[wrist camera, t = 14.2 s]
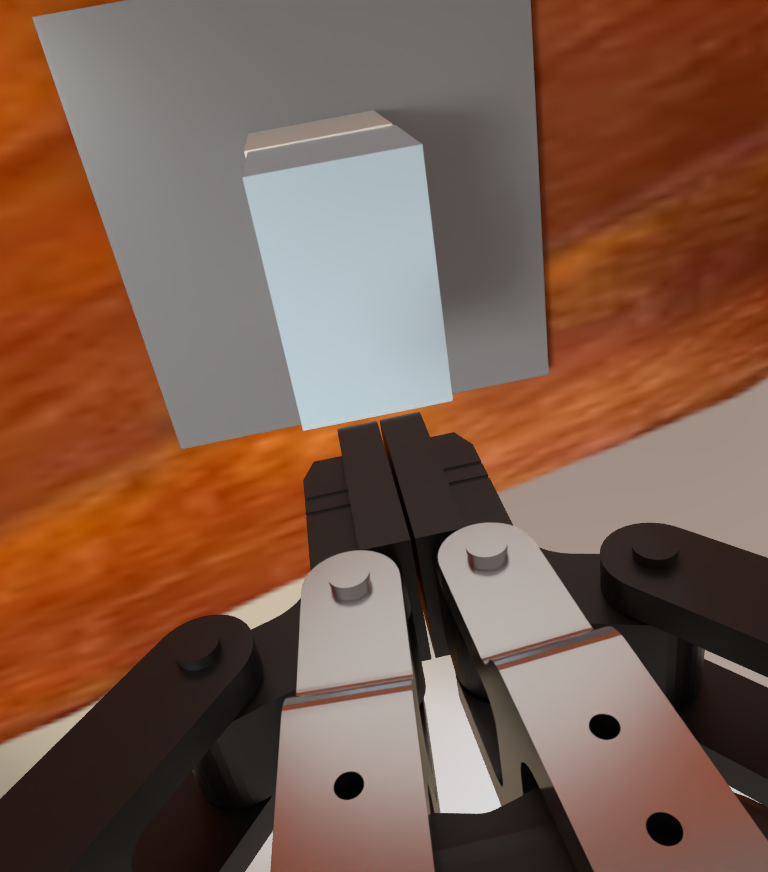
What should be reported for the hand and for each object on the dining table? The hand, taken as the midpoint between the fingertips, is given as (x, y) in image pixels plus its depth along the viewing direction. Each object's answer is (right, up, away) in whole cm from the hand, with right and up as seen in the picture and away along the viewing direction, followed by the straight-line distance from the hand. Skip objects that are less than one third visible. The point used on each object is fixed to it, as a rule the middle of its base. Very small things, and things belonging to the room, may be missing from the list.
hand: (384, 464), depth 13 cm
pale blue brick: (-1, +7, +13) cm, 15 cm away
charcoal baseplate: (-2, +10, +18) cm, 21 cm away
